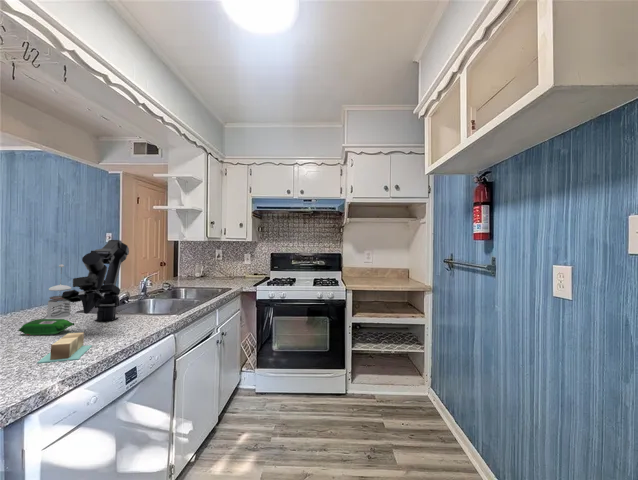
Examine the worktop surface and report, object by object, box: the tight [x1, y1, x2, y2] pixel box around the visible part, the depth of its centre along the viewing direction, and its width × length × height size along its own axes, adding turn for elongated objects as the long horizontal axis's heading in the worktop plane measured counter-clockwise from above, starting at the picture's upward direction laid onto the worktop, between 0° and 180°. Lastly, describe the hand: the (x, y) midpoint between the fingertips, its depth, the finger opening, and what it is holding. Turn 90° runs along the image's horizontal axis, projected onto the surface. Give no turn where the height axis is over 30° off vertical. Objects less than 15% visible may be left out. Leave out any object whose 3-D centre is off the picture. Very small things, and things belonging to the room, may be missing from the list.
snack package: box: [17, 318, 75, 336], centre depth 112 cm, size 7×16×5 cm, turn 99°
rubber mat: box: [36, 344, 93, 364], centre depth 93 cm, size 12×10×1 cm
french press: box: [44, 264, 76, 320], centre depth 133 cm, size 10×12×25 cm
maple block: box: [50, 332, 85, 360], centre depth 94 cm, size 4×4×12 cm
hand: (86, 313), depth 108 cm, fingers closed
